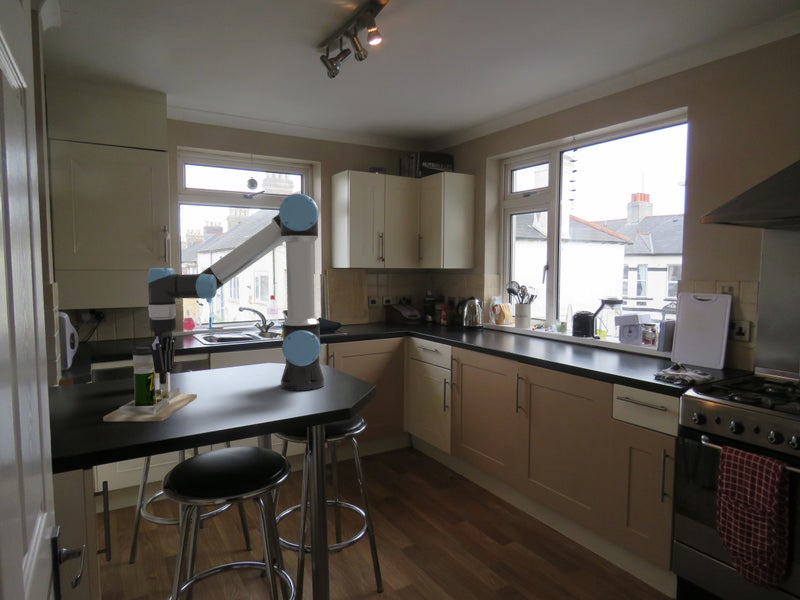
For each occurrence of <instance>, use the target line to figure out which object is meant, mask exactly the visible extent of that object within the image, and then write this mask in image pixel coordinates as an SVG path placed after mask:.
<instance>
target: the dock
mask: <svg viewBox="0 0 800 600" xmlns="http://www.w3.org/2000/svg"><path fill="white" fill-rule="evenodd" d="M156 393H157V391H155V394H156ZM165 397H166V398H158V399H157V403H156V404H154V405H153V406H135V399H133V400H132V401H131V400H130V401H129V402H127V403H125V404H123V405H122V406H120V407H119V408H118V409H116V410H114V411H112V412H110V413H108V414H106V415H104V416H103V419H102V421H103V422H164V420H166V419H168V418H169V417H171V416H173V415H174V414H175V413H176V412H178V411H180V410H181V409H183V408H184V407H186V406H187V405H188V404H190V403H191V402H193V401H195V400H196V399H197V398H198V395H197V393H196V394H195V393H194V394H193V393H181V392H180V387H179V388H178V387H176V388H174V389H172V390H170V392H169V393H167V394H165Z"/></svg>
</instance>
